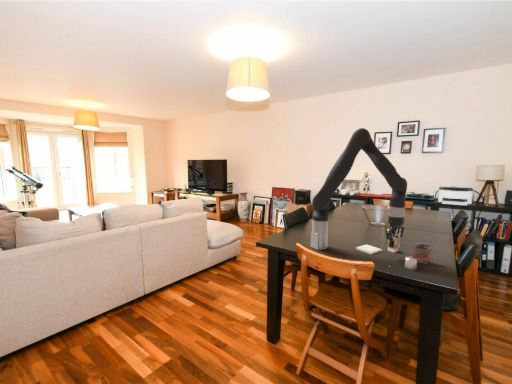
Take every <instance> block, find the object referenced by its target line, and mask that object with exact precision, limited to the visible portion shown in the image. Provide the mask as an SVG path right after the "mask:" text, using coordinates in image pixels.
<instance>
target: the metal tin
mask: <svg viewBox="0 0 512 384" xmlns="http://www.w3.org/2000/svg"><path fill="white" fill-rule="evenodd" d="M417 264H418V263H417V258H415V257H413V256H410V255H408V256H407V255H406V256H405V257H404V268H405V269H406V270H410V271H416V270H417V269H418V268H417V266H418V265H417Z"/></svg>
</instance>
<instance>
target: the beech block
mask: <svg viewBox="0 0 512 384" xmlns="http://www.w3.org/2000/svg"><path fill="white" fill-rule="evenodd" d="M392 238H393V236H392ZM387 240H388V239H387ZM400 245H401V238H400V239H398V238H395V239H394V247H393V248H392V247H389V240H388V242H387V248H388V247H389V248H392V249H398V250H399V249H400Z"/></svg>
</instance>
